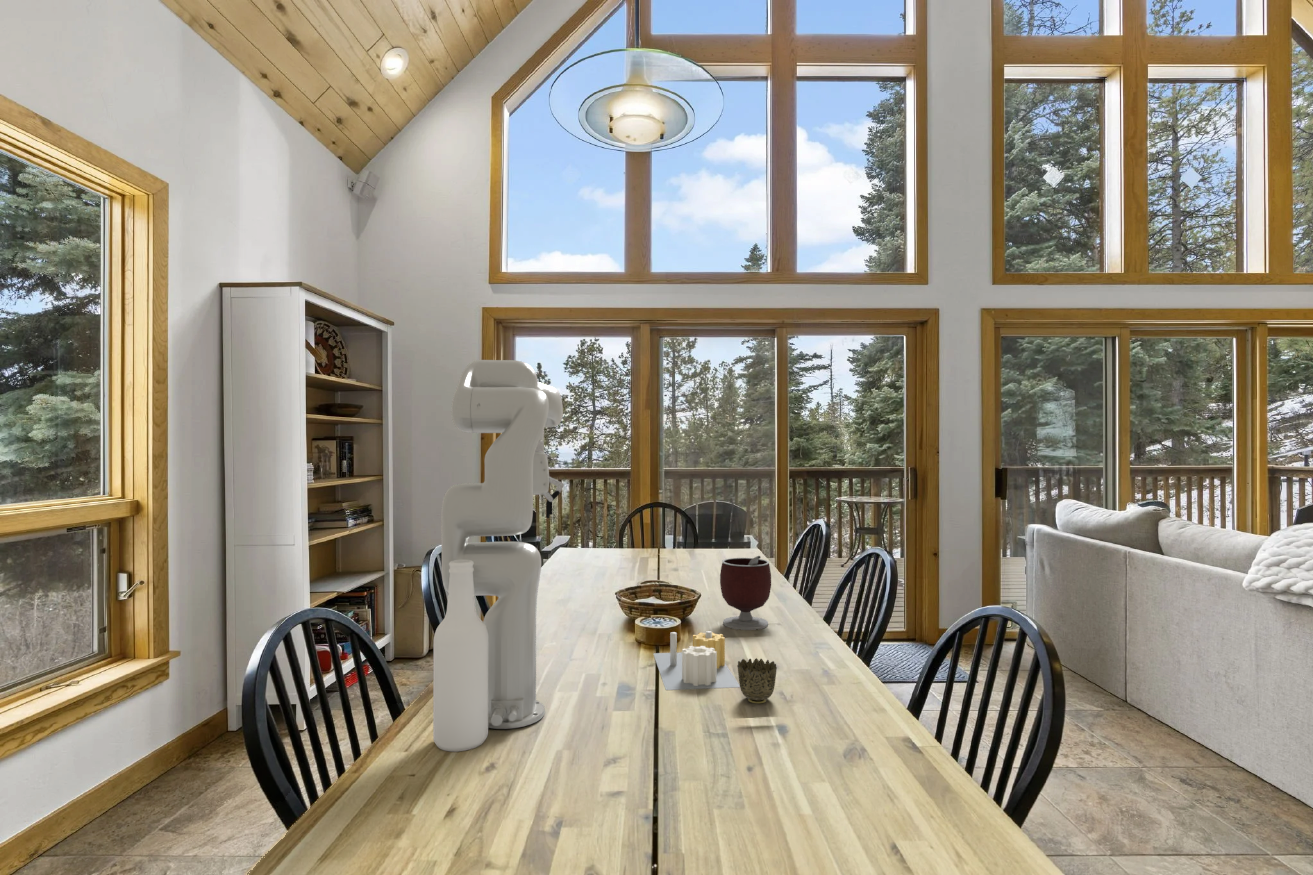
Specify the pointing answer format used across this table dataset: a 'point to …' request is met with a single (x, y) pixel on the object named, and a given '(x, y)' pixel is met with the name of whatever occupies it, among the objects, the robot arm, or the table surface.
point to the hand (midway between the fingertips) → (528, 517)
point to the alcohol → (460, 667)
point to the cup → (757, 679)
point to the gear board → (673, 670)
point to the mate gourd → (745, 590)
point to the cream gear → (699, 665)
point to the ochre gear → (712, 645)
